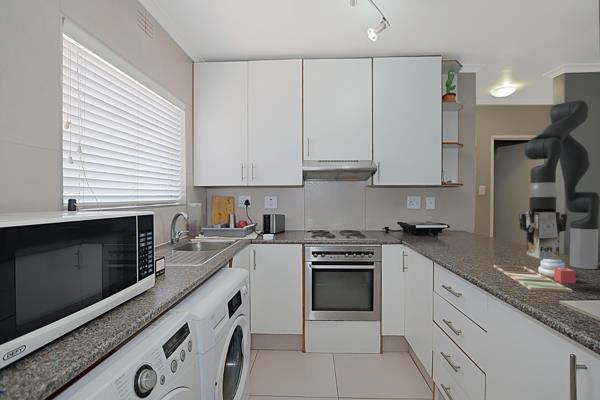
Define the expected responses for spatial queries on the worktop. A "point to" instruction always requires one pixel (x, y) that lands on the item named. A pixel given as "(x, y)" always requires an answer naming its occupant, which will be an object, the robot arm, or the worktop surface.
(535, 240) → the coffee box
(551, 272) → the dome base
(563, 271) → the red die
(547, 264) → the dome
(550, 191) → the robot arm
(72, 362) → the worktop surface
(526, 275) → the wooden divided tray
